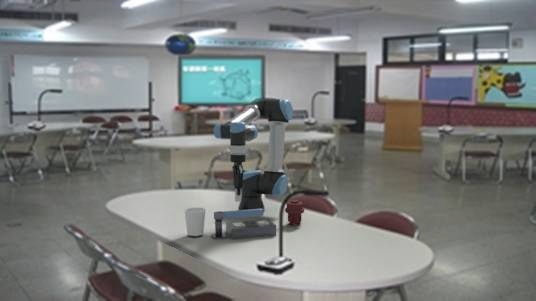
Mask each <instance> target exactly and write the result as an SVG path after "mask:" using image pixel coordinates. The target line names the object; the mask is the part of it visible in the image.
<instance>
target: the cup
mask: <svg viewBox="0 0 536 301" xmlns="http://www.w3.org/2000/svg"><path fill="white" fill-rule="evenodd" d="M205 217H206V208H203V207H198V206H197V207H189V208H186V209H184V218H185V225H186V232H187V235H188V237H190V238H192V237H193V238H198V237H203V235H204V230H205V219H206V218H205Z"/></svg>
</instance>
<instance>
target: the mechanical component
mask: <svg viewBox="0 0 536 301" xmlns="http://www.w3.org/2000/svg"><path fill="white" fill-rule="evenodd" d="M303 206H304V203H303V202H302V201H299V200H298V199H292V200H290V201H288V202H286V207H285V209H284V212H285V213H286V214H287V222H288V223H289V224H291V225H292V226H297V225H300V224H301V223H302V214H303V213H305V208H304V207H303Z"/></svg>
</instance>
